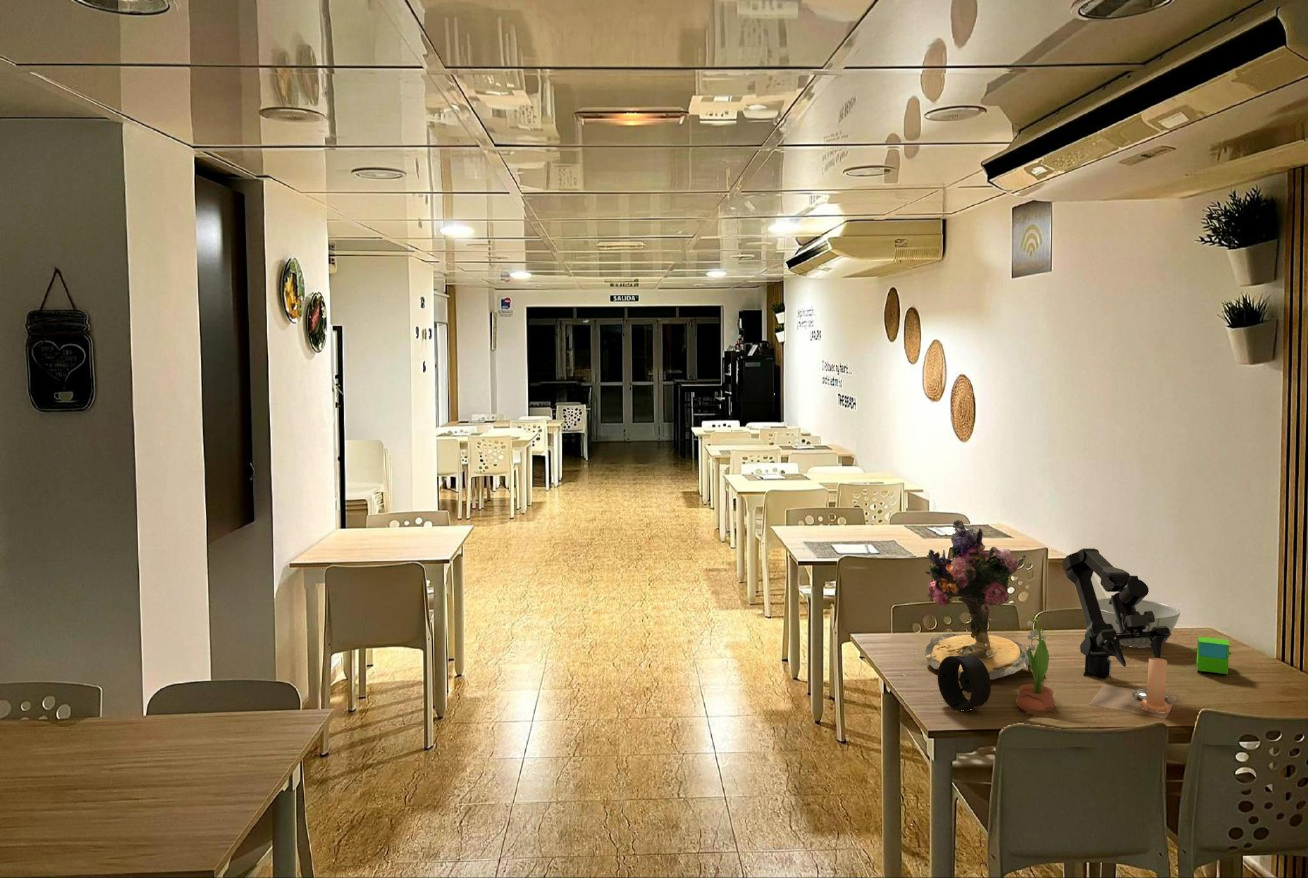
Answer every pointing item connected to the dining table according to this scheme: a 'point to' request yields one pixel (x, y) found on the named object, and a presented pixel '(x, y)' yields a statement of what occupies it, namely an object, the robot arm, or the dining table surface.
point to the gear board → (1125, 701)
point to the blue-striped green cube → (1212, 655)
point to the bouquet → (974, 602)
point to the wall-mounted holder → (964, 682)
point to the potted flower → (1036, 676)
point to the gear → (1143, 695)
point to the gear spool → (1156, 687)
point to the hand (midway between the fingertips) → (1142, 665)
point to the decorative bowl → (1161, 612)
